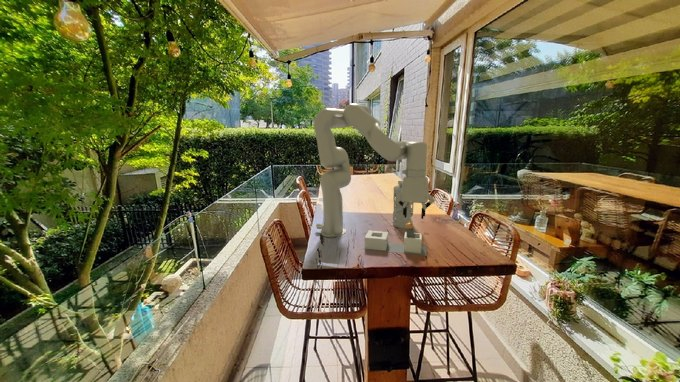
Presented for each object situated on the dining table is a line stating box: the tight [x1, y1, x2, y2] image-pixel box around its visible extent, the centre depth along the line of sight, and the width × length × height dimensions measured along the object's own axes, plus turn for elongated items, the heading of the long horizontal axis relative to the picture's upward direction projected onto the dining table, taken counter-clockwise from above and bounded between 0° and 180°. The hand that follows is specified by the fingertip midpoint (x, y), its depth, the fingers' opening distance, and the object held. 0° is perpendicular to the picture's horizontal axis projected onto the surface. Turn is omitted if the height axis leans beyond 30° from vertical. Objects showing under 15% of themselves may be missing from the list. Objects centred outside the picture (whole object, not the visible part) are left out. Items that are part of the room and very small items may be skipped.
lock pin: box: [405, 222, 415, 238], centre depth 111 cm, size 3×3×11 cm
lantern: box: [392, 180, 414, 229], centre depth 140 cm, size 13×10×25 cm
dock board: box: [361, 229, 427, 259], centre depth 113 cm, size 26×10×7 cm, turn 74°
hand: (413, 216), depth 108 cm, fingers open, 6 cm apart
